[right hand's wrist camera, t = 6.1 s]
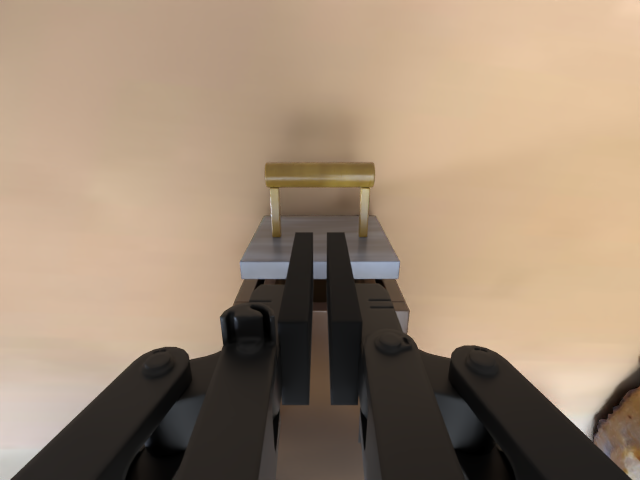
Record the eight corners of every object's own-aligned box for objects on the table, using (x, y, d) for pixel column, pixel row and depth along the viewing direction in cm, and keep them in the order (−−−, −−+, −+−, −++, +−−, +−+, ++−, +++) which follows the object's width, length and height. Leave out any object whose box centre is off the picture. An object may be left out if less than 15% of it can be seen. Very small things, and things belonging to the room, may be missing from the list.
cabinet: (260, 241, 31) (229, 310, 20) (378, 241, 31) (409, 310, 20) (271, 397, 38) (252, 511, 27) (368, 397, 38) (388, 511, 27)
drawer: (260, 153, 27) (231, 174, 18) (379, 153, 27) (408, 174, 18) (273, 374, 35) (258, 463, 27) (366, 374, 35) (381, 463, 27)
